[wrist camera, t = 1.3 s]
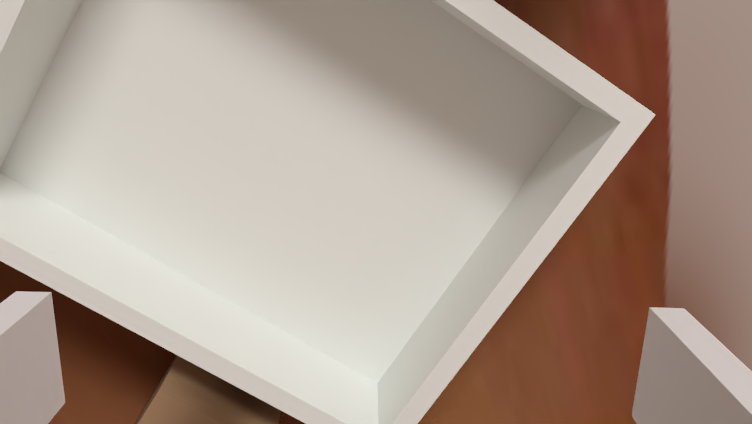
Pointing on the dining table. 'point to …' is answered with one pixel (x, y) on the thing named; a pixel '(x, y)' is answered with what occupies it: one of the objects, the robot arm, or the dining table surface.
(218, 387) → the walnut cube
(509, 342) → the dining table surface
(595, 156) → the tote
